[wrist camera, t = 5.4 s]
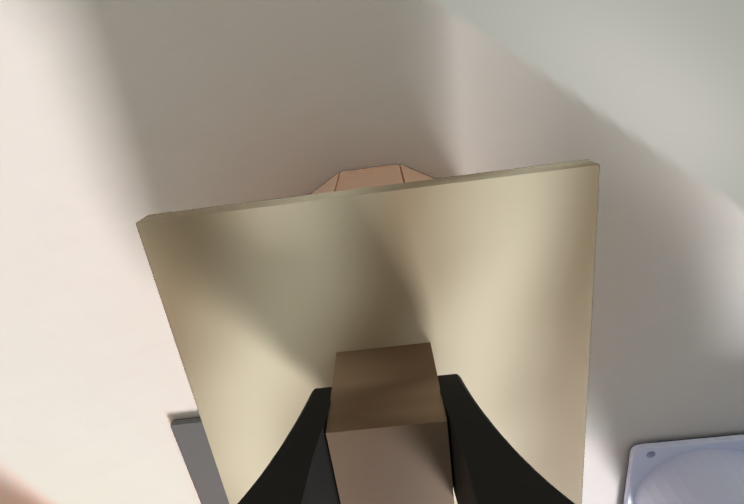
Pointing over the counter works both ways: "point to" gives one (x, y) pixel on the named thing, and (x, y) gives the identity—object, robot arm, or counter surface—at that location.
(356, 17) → the counter surface
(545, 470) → the lid
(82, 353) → the counter surface
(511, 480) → the robot arm
